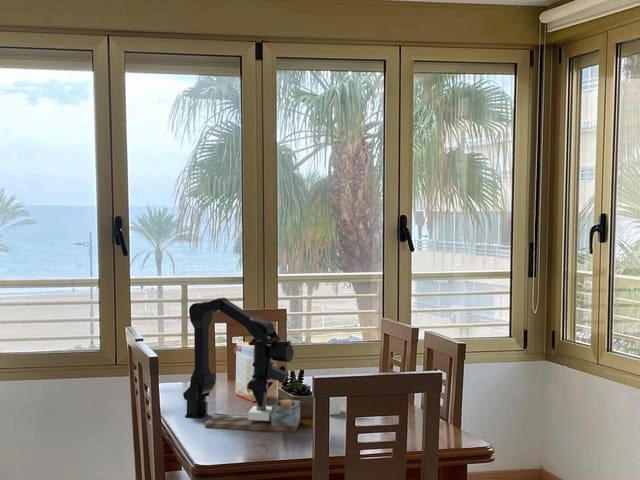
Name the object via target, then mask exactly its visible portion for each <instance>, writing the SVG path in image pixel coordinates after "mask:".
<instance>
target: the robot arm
mask: <svg viewBox="0 0 640 480" xmlns="http://www.w3.org/2000/svg"><path fill="white" fill-rule="evenodd" d="M188 309H189V310H188V313H189V321H190V322H191V325H192V326H193V332H194V336H193V339H194V349H193V350H194V356H193V358H194V370H193V372H192V374H191V376H190V381H189V386H188V388H187V389H186V390H185V391H184V392H183V393H182V396H183V399H184V400H185V401H186V414H185V415H184V417H185V418H198V419H199V418H201V419H202V418H204V417H206V415H208V413H209V402H208V401H207V397H209V396H210V393H211V391H213V390H214V387H215V385H216V381H215V378H216V377H215V376H216V375H215V372H212V371H211V370H210V368H209V367H210V365H209V350H210V349H209V327H210V325H211V323H212V321H213V316H214V315H213V314H214V313H216V312H221V313H222V314H224V315H226V316H227V317H228V318H231V319H232V320H233V321H235V322H237V323H238V324H240V325H241V326H243V327H244V328H245V330H246V331H247V333H248V334H250V336H252V339H251V341H248V342H249V343H248V344H249V345H254V362H253V366H254V374H253V375H252V380H251V381H250V382H249V383H248V387H247V389H248V390H252V392H253V394H254V396H255V399H256V401H255V402H256V405H257V404H258V406H259V407H262V406H263V400H264V395H265V394H266V396H267V394H268V391H269V389H270V387H272V385H273V384H274V382H273V381H278V382H279V383H281V384H284V383H285V382H286V379H287V377H288V374H289V372H288V370H287V366H285V365H283V364H282V365H280V366H279V367H278V366H274V362H273V361H277V362H284V363H285V362H286V363H291V361H292V360H293V357H294V352H295V351H294V348H293V345H292V343H291V340H286V341H285V340H281V339H280V337H279V335H278V333H277V331H276V330H275V328H274V327H275V326H274V324H273V322H271V321H270V320H267V319H264V318H261V317H258V316H255V315H252V314H250V313H249V312H247V311H246V310H245V309H243V308H241V307H240V306H237V305H236V304H235V303H234V302H231V301H230V300H229V299H228V298H226V297H219V298H218V297H217V298H215V299H212V300H209V301H201V302H194V303H192V304H191V305H190V307H189V308H188ZM271 379H272V381H270V380H271Z"/></svg>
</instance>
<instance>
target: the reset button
mask: <svg viewBox="0 0 640 480" xmlns="http://www.w3.org/2000/svg"><path fill="white" fill-rule="evenodd" d="M280 400H281V401H280V406H292V399H288V398H287V399H286V398H285V399H280Z"/></svg>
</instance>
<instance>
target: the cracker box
mask: <svg viewBox="0 0 640 480" xmlns="http://www.w3.org/2000/svg"><path fill="white" fill-rule="evenodd" d="M249 342H250V341H243V342H241V341H240V342H236V351H235V352H236V353H235V354H236V355H235V356H236V358H235V394H234V395H235V396H237V397H240V398H242V399H244V400H247V401H250V402H257V401H256V399H255V396H254V394H253V392H252V390H248V389H247V387H248V383H249V382H250V381H251V380H252V375H253V374H254V366H253V362H254V345H249V344H248V343H249Z"/></svg>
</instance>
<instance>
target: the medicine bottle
mask: <svg viewBox="0 0 640 480" xmlns="http://www.w3.org/2000/svg"><path fill="white" fill-rule="evenodd" d="M341 398H342V397H341ZM341 398H332V399H331V400H330V413H331V415H330V416H333V415H341V411H342V408H341V406H342V405H341V404H342V402H341V401H342V399H341Z"/></svg>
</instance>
